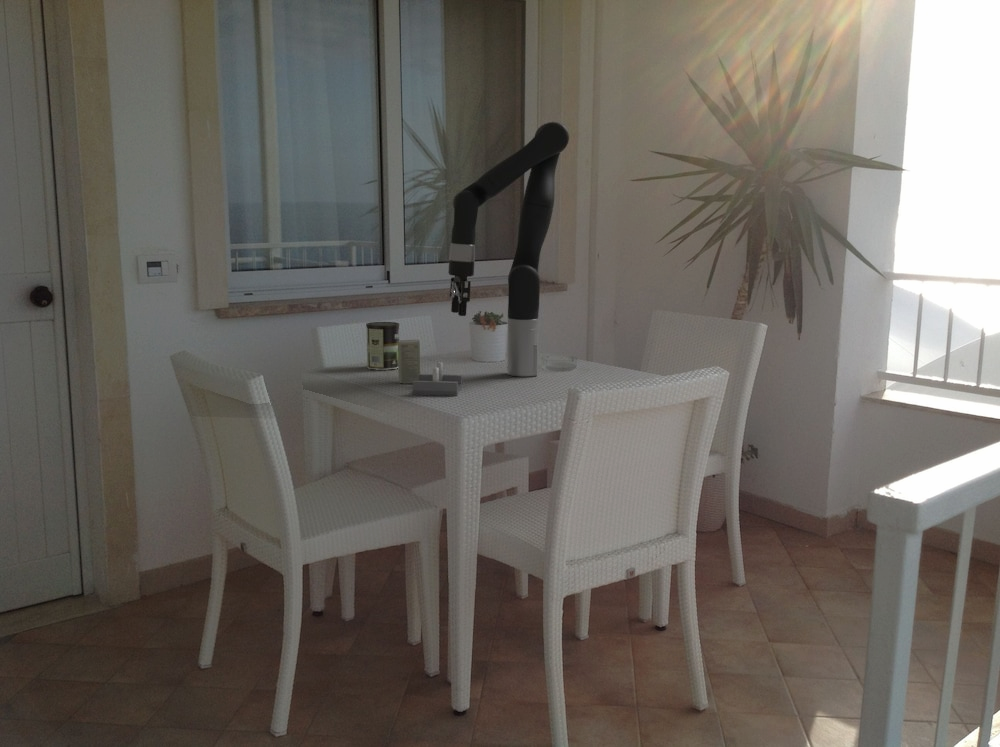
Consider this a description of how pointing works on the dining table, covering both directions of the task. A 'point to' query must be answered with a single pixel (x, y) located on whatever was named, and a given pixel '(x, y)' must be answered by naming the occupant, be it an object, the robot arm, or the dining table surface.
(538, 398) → the dining table surface
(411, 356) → the skincare box
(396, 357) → the coffee can
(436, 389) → the tray
